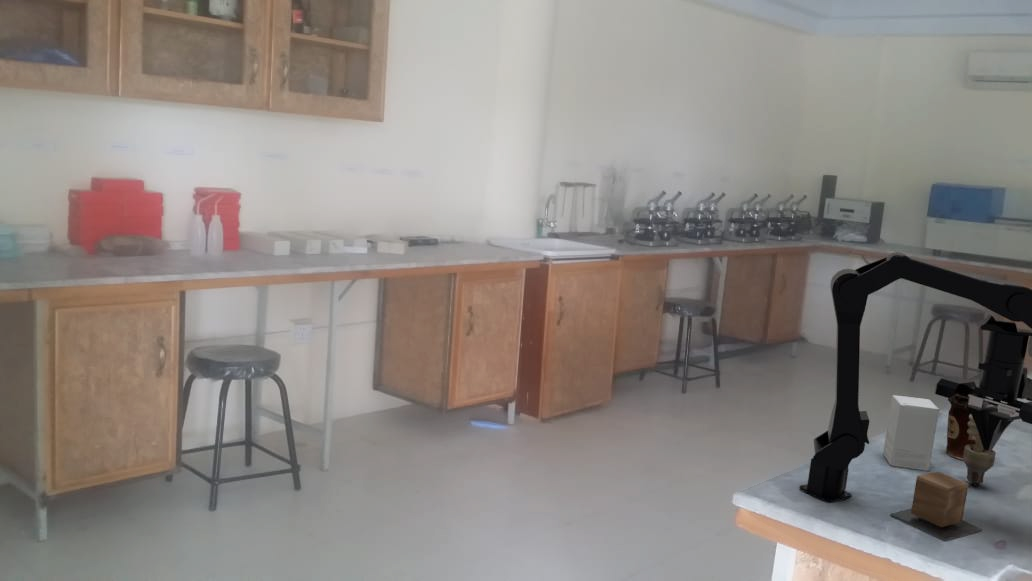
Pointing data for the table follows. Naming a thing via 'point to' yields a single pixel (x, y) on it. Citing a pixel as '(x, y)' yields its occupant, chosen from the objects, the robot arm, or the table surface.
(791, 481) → the table surface
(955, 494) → the cardboard carton
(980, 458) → the light bulb
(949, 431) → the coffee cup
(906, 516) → the gray square base stand
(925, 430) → the supplement box
